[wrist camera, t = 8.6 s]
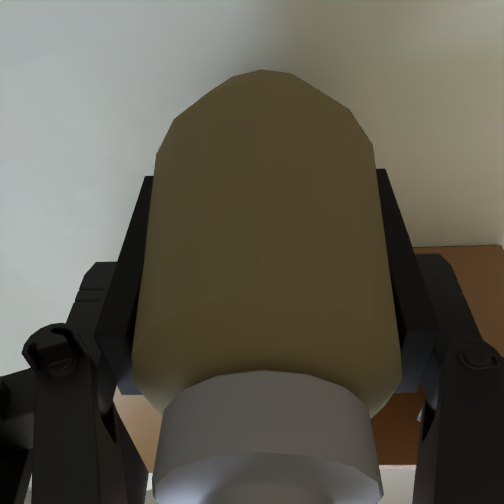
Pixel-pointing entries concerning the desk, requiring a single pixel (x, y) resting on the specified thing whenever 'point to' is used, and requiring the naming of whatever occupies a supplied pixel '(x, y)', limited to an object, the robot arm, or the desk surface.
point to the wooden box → (400, 404)
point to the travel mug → (132, 468)
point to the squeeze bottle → (266, 301)
